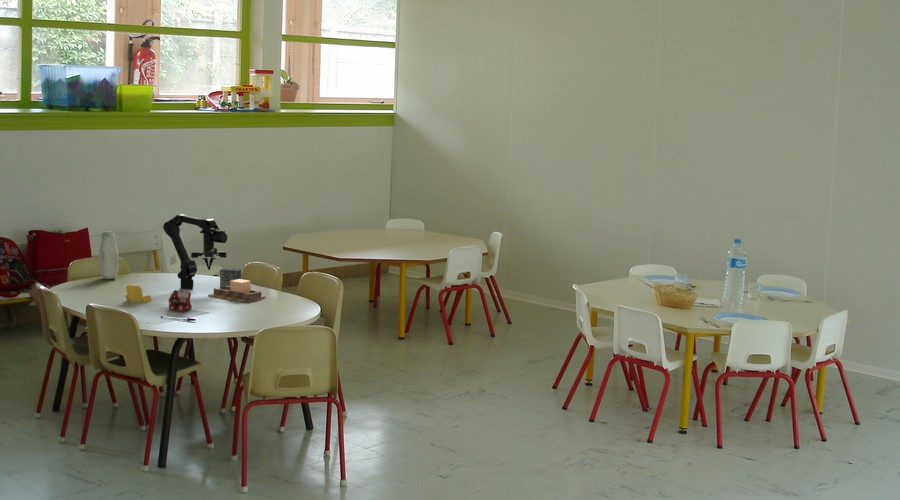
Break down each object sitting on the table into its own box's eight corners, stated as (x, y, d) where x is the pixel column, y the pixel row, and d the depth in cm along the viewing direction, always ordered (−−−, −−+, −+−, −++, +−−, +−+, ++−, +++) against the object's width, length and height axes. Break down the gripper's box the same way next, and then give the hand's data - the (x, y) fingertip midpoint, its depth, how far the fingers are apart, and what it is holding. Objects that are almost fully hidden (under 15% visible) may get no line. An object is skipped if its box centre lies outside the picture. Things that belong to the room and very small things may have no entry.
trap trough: (208, 296, 531) (208, 289, 530) (228, 291, 545) (228, 284, 544) (245, 302, 518) (245, 295, 517) (265, 297, 532) (265, 290, 531)
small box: (241, 287, 558) (241, 268, 557) (238, 289, 552) (238, 270, 550) (223, 286, 559) (223, 268, 558) (219, 288, 553) (219, 270, 551)
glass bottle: (104, 276, 575) (103, 229, 570) (121, 277, 574) (120, 230, 569) (96, 280, 565) (95, 231, 560) (114, 280, 564) (113, 232, 559)
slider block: (230, 295, 529) (230, 280, 528) (239, 293, 535) (239, 278, 533) (241, 297, 525) (241, 282, 524) (250, 295, 531) (250, 280, 530)
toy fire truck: (174, 308, 501) (173, 288, 499) (194, 310, 496) (194, 290, 495) (165, 310, 494) (165, 290, 493) (186, 313, 490) (186, 292, 488)
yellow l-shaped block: (152, 300, 517) (152, 283, 515) (141, 304, 508) (140, 286, 506) (135, 298, 520) (135, 281, 519) (124, 302, 511) (123, 284, 510)
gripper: (191, 244, 530) (191, 272, 532) (226, 243, 534) (226, 272, 537) (191, 241, 540) (191, 269, 543) (226, 240, 545) (226, 268, 547)
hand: (208, 269), depth 542 cm, fingers closed
